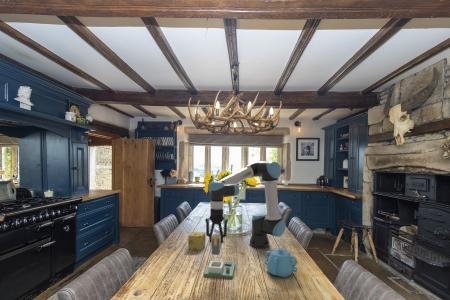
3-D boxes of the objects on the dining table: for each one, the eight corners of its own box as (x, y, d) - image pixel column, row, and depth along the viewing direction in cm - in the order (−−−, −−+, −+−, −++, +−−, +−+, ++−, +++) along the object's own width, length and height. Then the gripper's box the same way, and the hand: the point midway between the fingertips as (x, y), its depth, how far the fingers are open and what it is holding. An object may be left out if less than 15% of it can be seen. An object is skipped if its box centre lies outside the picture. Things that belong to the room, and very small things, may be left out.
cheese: (201, 250, 175) (201, 236, 175) (187, 249, 177) (187, 235, 177) (205, 245, 185) (205, 232, 185) (192, 244, 187) (192, 231, 187)
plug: (220, 251, 145) (220, 234, 145) (218, 255, 139) (218, 237, 139) (213, 251, 145) (213, 234, 145) (211, 254, 140) (211, 237, 140)
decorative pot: (299, 279, 135) (299, 254, 135) (271, 280, 133) (271, 255, 133) (288, 266, 151) (289, 244, 151) (263, 267, 149) (263, 244, 150)
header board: (235, 264, 153) (235, 257, 153) (232, 278, 135) (232, 270, 135) (210, 262, 155) (210, 255, 155) (203, 276, 137) (203, 268, 137)
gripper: (232, 207, 146) (231, 247, 145) (203, 206, 148) (203, 245, 147) (230, 210, 138) (230, 251, 137) (201, 208, 141) (200, 249, 140)
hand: (216, 248), depth 142 cm, fingers closed on plug, 4 cm apart
